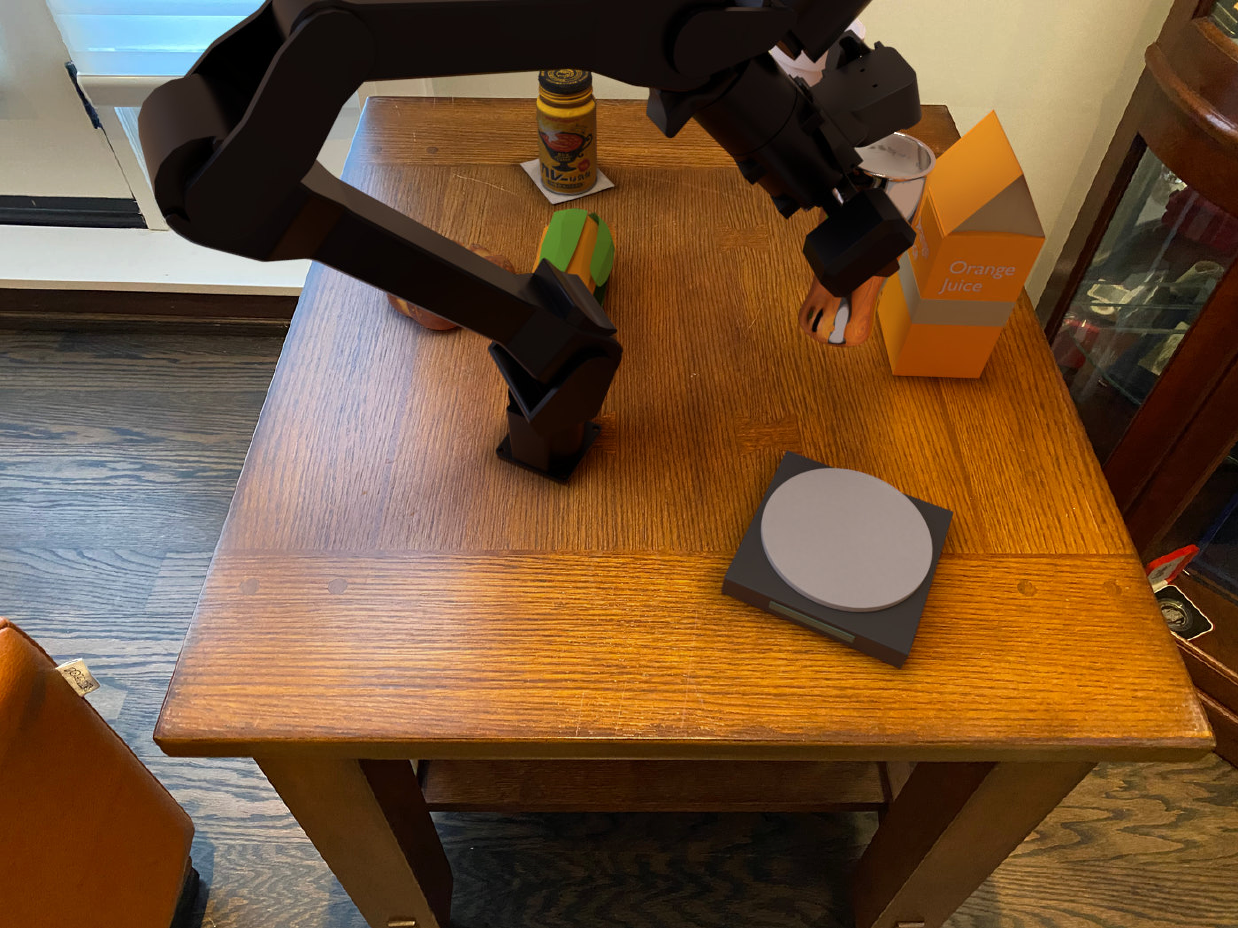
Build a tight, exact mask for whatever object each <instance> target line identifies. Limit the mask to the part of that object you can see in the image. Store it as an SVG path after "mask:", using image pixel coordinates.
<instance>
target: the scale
mask: <svg viewBox="0 0 1238 928" xmlns="http://www.w3.org/2000/svg"><path fill="white" fill-rule="evenodd" d="M953 516H954V511H953V510H950V509H947V508H944V507H942V506H939V505H937V504H934V503H931V502H928V501H925V500H923V499H920V498H917V497H914V496H912V495H909V494H906V493H904V492H902V491H900V490H899V489H897V488H896V487H894V486H893V485H891V483H888V482H886V481H884V480H882V479H880V478H878V477H876V476H873V475H871V474H868V473H865V472H862V471H858V470H853V469H848V468H840V467H834V466H831V465H829V464H825V463H824V462H820V461H817V460H816V459H812V458H809V457H807V456H804V455H801V454H799V453H796V452H793V451H792V450H791V451H790V450H785V453H784V454H783V457H782V458H781V461H780V462H779V465H778V467H777V469H776V471H775V473H774V475H773V477H772V479H771V481H770V483H769V485H768V487H767V489H766V491H765V493H764V495H763V497H762V500H761V501H760V503H759V505H758V507H757V509H756V512H755V514H754V515H753V518H752V520H751V522H750V524H749V525H748V527H747V530H746V532H745V533H744V536H743V538H742V540H741V542H740V544H739V545H738V548H737V550H736V551H735V554H734V556H733V558H732V560H731V562H730V564H729V566H728V568H727V571H726V572H725V574H724V576H723V579H722V585H721V589H720V592H721V594H724V595H727V596H728V597H731V598H733V599H736V600H738V601H741V602H743V603H746V604H748V605H749V606H753V607H755V608H757V609H759V610H762V611H764V612H766V613H769V614H771V615H773V616H776V617H778V618H780V619H782V620H785V621H788V622H790V623H792V624H795V625H797V626H800V627H802V628H804V629H806V630H809V631H811V632H813V633H815V634H817V635H820V636H823V637H825V638H827V639H829V640H831V641H835V642H836V643H839V644H841V645H844V646H846V647H849V648H850V649H853V650H854V651H855V650H856V651H858V652H860V653H863V654H864V655H868V656H869V657H871V658H874V659H877V660H879V661H881V662H883V663H886V664H888V665H890V666H892V667H895V668H898V669H902V668H903V667H904V665H905V663H906V662H907V659H909V656H910V655H911V652H912V651H911V650H912V648H913V644H914V642H915V638H916V634H917V632H918V629H919V626H920V622H921V619H922V615H923V612H924V610H925V606H926V603H927V600H928V596H929V593H930V590H931V587H932V583H933V580H934V577H935V573H936V571H937V567H938V564H939V561H940V558H941V554H942V552H943V548H944V545H945V542H946V539H947V536H948V532H949V529H950V525H951V523H952V519H953Z"/></svg>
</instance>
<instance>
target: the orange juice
mask: <svg viewBox="0 0 1238 928" xmlns="http://www.w3.org/2000/svg"><path fill="white" fill-rule="evenodd" d="M1043 228H1044V227H1043V226H1042V223H1041V220H1040V217H1039V214H1038V211H1037V208H1036V205H1035V202H1034V200H1033V197H1032V193H1031V191H1030V187H1029V185H1028V181H1027V179H1026V176H1025V173H1024V171H1023V169H1022V166H1021V164H1020V162H1019V160H1018V158H1017V156H1016V153H1015V151H1014V149H1013V146H1012V145H1011V143H1010V141H1009V138H1008V137H1007V135H1006V132H1005V130H1004V128H1003V125H1002V123H1001V121H1000V119H999V117H998V115H997V113H996V110H995V108H993V109H992V110H991V111H990V112H988V113H987V114H986V115H985V116H983V118H982V119H980V120H979V121H978V122H977V123H976V124H975V125H974V126H973V127H972V128H970V129H969V130H968V131H967V132H966V133H964V135H962V136H961V137H960V138H959V139H958V140H957V141H955V142H954V144H952V145H951V146H950V147H949V148H948V149H947V150H946V151H944V152H943V153H942V154H941V155H940V156H938V157H937V158H936V165H935V167H934V170H933V173H932V177H931V181H930V185H929V189H928V192H927V196H926V200H925V203H924V206H923V209H922V213H921V216H920V219H919V221H918V224H917V226H916V229H915V232H916V233H917V235H916V238H915V241H914V244H913V246H912V247H910V248H909V249H908V250H906V251H905V252H904V253H903V255H902V257H901V258H900V260H899V262H898V263H899V265H900V269H899V270H898V271H897V272H896V273H894V274H893V275H892V276H890V277H889V278H888V280H887V282H886V284H885V286H884V287H883V289H882V292H881V295H880V298H879V301H878V304H877V307H876V312H877V315H878V319H879V323H880V329H881V332H882V336H883V340H884V344H885V349H886V353H887V357H888V360H889V366H890V370H891V374H892V376H898V377H899V376H901V377H929V378H930V377H931V378H954V379H955V378H959V379H980V377H981V375H982V373H983V371H984V369H985V367H986V364H987V363H988V361H989V358H990V356H991V354H992V352H993V350H994V348H995V346H996V344H997V342H998V340H999V337H1000V336H1001V333H1002V331H1003V329H1004V328H1005V327H1006V324H1007V323H1008V321H1009V318H1010V317H1011V314H1012V313H1013V310H1014V308H1015V306H1016V304H1017V300H1018V298H1019V296H1020V294H1021V292H1022V289H1023V288H1024V286H1025V283H1026V281H1027V279H1028V278H1029V275H1030V273H1031V271H1032V270H1033V267H1034V264H1035V263H1036V261H1037V259H1038V256H1039V254H1040V252H1041V250H1042V248H1043V246H1044V244H1045V242H1046V241H1047V237H1046V234H1045V231H1044V229H1043Z"/></svg>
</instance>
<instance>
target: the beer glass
mask: <svg viewBox="0 0 1238 928" xmlns="http://www.w3.org/2000/svg"><path fill="white" fill-rule="evenodd" d="M854 149H855V150H856V151H857V152H858V154H859V155H860V156H861V158H862V159H863V162H862V163H861V164H860V165H858V166H857V167H856V168H855V169H854V170H852V171H851V172H850V173H849V174H846V175H847V176H848V178H849V179H850V181H851V182H852V184H853V185H854V187H855V188H856V189H857V191H858V192H860V191H861V190H862V189H869V188H879V187H882V188H883V190H884V191H885V192H886V193H887V194H888V196H889V197H890V198H891V199H892V201H893V202H894V203H895V205H896V206H897V207H898V208H899V210H900V211H901V212H902V214H903V215H904V217H905V218H906V219H907V221H908V222H909V224H910V225H911V226H912V228H913V229H914V231H915V229H916V226H917V224H918V221H919V219H920V216H921V213H922V209H923V206H924V203H925V200H926V196H927V192H928V189H929V185H930V181H931V177H932V173H933V170H934V167H935V165H936V160H937V157H936V155H935V153H934V152H933V150H932V149H931V148H930V147H929V146H928V145H927V144H925V143H924V142H923V141H921V140H920V139H918V138H916V137H914V136H911V135H909V134H907V133H903V132H901V131H897V132H895V133H893V134H891V135H889V136H887V137H885V138H883V139H881V140H879V141H877V142H875V143H873V144H871V145H869V146H866V147H862V148H856V147H854ZM833 191H834V192H835V194H836V195H837V197H838V198H839V200H840V201H841V203H842V205H844V204H845V202H844V200H843V199H842V197H841V196H840V194H839V193H838V191H837V189H836V188H835V189H834V190H833ZM818 213H819V214H818V222H817V226H818V225H820V224H821V223H822V222H823V221H824V220H826V219H827V218H828V216H827V214H826V213H825V211H824V209H823V208H822V206H821V208H819V212H818ZM902 255H903V254H901V255H900V256H899V257H897V260H898V262H899V260H900V258H901V257H902ZM888 278H889V277H888ZM888 278H886V277H877V276H873V277H871V278H870V279H869V280H867V281H866V282H865V283H864V284H862V285H861V286H860V287H858V288H857V289H856V290H854V291H853V292H852V293H851V294H849V295H848V296H847V297H845V298H835V297H834V296H833V295H832V294H831V293H829V292H828V291H827V290H826V289H825V288H824V287H823V286H822V285H821V284H820V282H819V281H818V279H817V277H816V275H815V274H814V273H813V276H812V281H811V284H810V288H809V290H808V293H807V294H806V297H805V299H804V301H803V302H802V303H801V306H800V308H799V310H798V314H797V320H798V324H799V326H800V328H801V330H802V331H803V332H804V333H805V334H806V335H807V336H808V337H810V339H812V340H814V341H816V342H818V343H820V344H823V345H826V346H830V347H835V348H853V347H857V346H859V345H862V344H864V343H865V342H866V341H868V340H869V339H870V338H871V336H872V335H873V332H874V328H875V322H876V313H877V308H878V304H879V301H880V297H881V295H882V293H883V290H884V286H885V284H886V282H887V280H888Z"/></svg>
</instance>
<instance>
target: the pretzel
mask: <svg viewBox="0 0 1238 928" xmlns="http://www.w3.org/2000/svg"><path fill="white" fill-rule="evenodd" d="M451 240H452V241H454V242H456V243H457V244H459V245H461V246H463V247H465V248H467V249H468V250H470V251H472V252H474V253H476V254H478V255H479V256H481V257H483V258H485V259H487V260H489V261H490V262H492V263H494V264H496V265H498V266H500V267H501V268H503V269H505V270H507V271H509V272H511V273H514V274H517V271H516V269H515V265H513V263H512V262H511V261H510V260H509V259H508V258H507V257H505V256H503V255H502V254H492V253H491V252H490V250H489V249H488V248H487V247H485V246H484V245H483V244H480V243H474V242H472V243H468V244H467V245H465V244H464V243H463V242H461V241H459V240H455V239H451ZM385 294H386V298H387V301H388V303H389V305H390V306H391V307H392V309H394V310H395V311H396V313H399V314H400V315H402V316H405V317H408V318H412V319H413V320H414V321H416V323H418V324H419V325H420V326H422V327H424V328H426V329H430V330H440V331H441V330H443V331H444V330H445V331H446V330H449V329H454V328H456V327H459V326H458V325H456V324H454V323H452V322H449V321H447V320H445V319H443V318H441V317H438V316H436V315H434V314H432V313H429V312H427V311H425V310H423V309H421V308H418V307H416V306H414V305H412V304H410V303H407V302H405V301H403V300H401V299H398V298H396V297H394V296H392V295H390V294H387V293H385Z"/></svg>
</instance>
